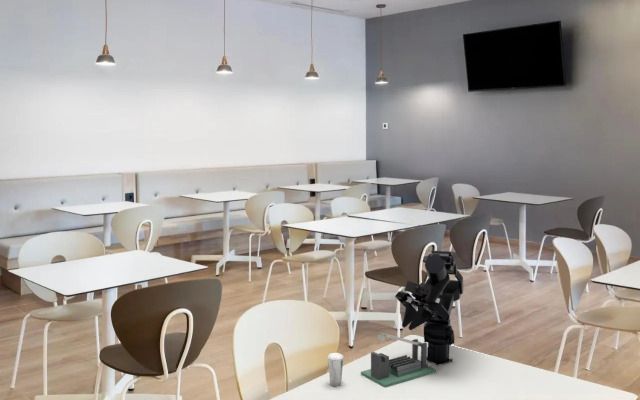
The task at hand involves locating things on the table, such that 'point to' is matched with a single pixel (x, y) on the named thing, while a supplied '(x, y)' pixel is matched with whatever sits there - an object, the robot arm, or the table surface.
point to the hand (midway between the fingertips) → (406, 328)
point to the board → (396, 380)
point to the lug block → (379, 365)
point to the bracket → (423, 354)
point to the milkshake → (335, 368)
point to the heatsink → (403, 366)
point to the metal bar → (382, 338)
